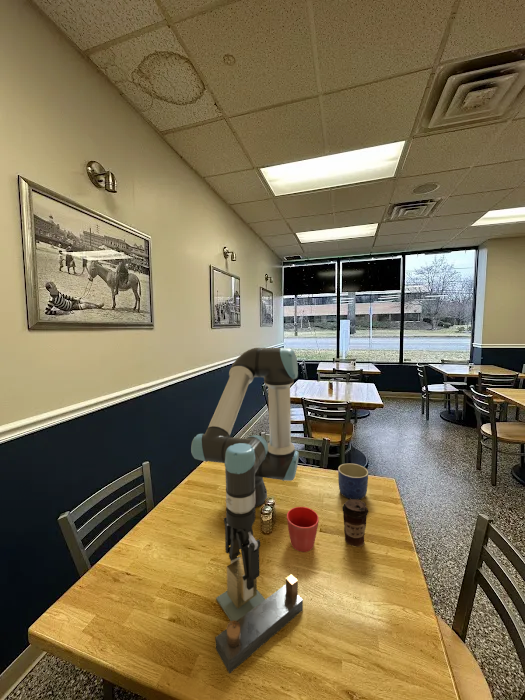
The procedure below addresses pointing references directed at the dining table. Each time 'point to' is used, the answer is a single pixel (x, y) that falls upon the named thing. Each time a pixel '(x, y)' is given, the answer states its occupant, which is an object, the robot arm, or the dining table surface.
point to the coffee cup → (354, 522)
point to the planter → (353, 481)
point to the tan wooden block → (237, 583)
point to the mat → (232, 609)
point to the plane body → (258, 625)
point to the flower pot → (302, 528)
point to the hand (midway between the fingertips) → (242, 589)
